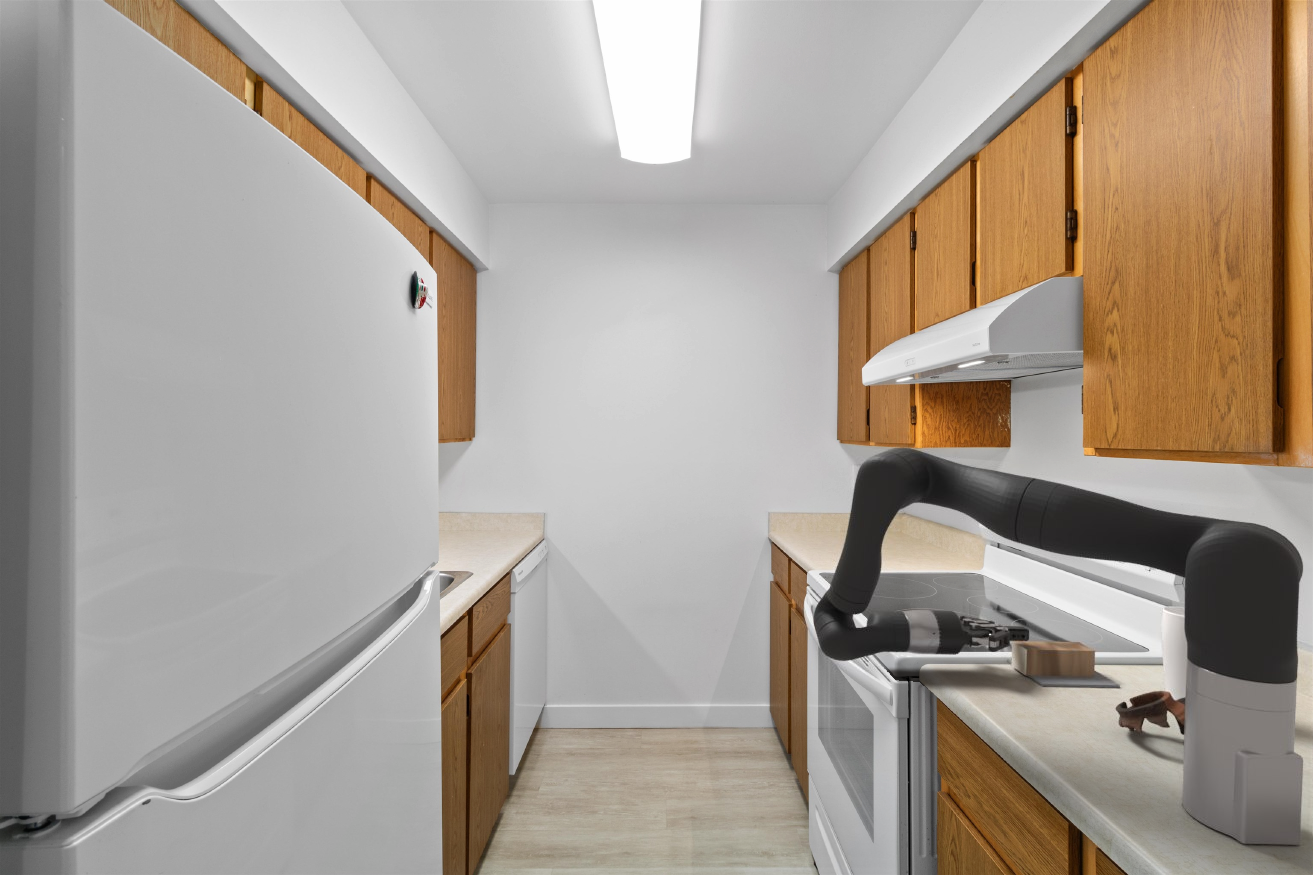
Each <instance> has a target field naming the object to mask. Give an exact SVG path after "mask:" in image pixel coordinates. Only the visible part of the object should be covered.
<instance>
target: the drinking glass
mask: <svg viewBox="0 0 1313 875" xmlns="http://www.w3.org/2000/svg"><path fill="white" fill-rule="evenodd" d="M1161 611H1162V612H1161V619H1160V620H1161V622H1160V640H1161V652H1162V668H1163V680H1164V681H1163V683H1164V691H1167V692H1169V693H1171V696H1172V697H1173V699H1174V700H1178V699H1180V698H1185V697H1186V672H1187V640H1186V636H1185V630H1184V620H1185V606H1176V605H1175V606H1173V605H1172V606H1171V605H1170V606H1164V607H1163V608H1162V609H1161Z"/></svg>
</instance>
